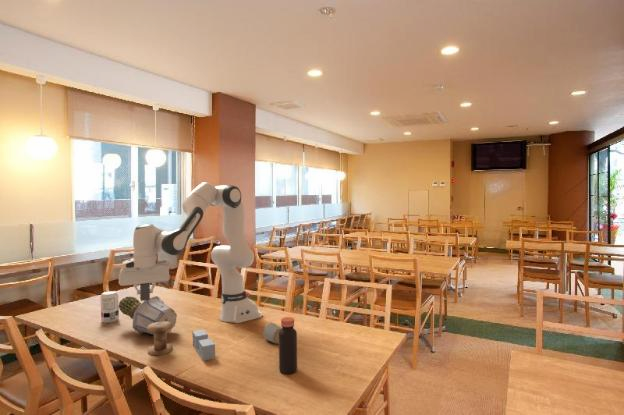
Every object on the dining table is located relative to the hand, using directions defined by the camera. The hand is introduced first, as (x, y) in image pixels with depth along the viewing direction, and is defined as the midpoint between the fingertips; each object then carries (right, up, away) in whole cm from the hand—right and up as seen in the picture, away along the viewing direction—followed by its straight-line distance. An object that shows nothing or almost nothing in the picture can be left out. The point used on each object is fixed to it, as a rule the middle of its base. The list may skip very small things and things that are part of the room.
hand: (144, 293), depth 165 cm
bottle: (+64, -25, -20) cm, 71 cm away
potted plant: (-9, -24, +21) cm, 33 cm away
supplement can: (-34, -23, +36) cm, 55 cm away
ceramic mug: (+57, -24, +9) cm, 62 cm away
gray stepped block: (+26, -24, -2) cm, 36 cm away
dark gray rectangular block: (0, -3, 0) cm, 3 cm away
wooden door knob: (+7, -24, -1) cm, 25 cm away
